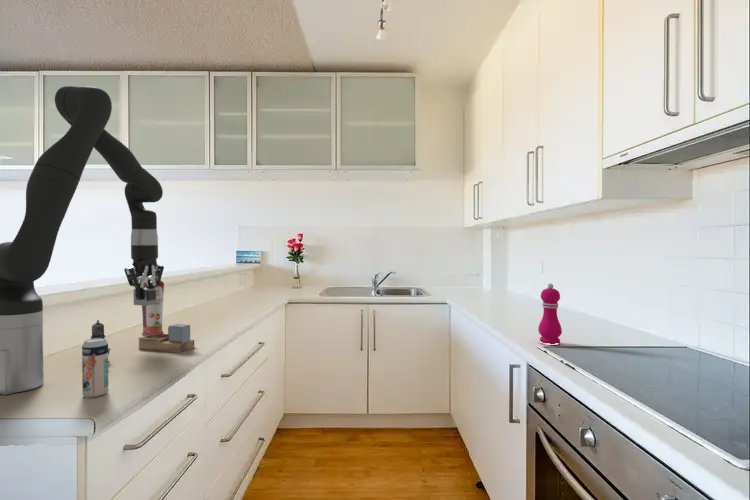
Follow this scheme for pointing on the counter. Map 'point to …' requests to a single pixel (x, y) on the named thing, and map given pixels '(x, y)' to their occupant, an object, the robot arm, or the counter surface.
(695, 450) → the counter surface
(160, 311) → the liquor
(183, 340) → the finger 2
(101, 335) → the dark metal lantern
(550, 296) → the pepper mill
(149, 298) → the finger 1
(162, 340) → the wooden tray
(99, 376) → the beer can
